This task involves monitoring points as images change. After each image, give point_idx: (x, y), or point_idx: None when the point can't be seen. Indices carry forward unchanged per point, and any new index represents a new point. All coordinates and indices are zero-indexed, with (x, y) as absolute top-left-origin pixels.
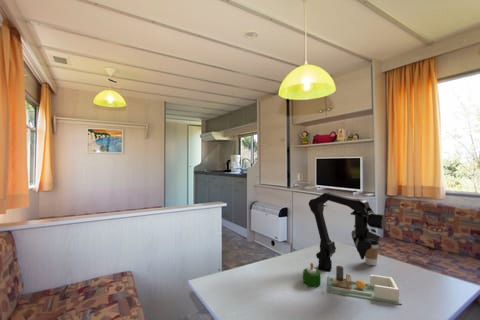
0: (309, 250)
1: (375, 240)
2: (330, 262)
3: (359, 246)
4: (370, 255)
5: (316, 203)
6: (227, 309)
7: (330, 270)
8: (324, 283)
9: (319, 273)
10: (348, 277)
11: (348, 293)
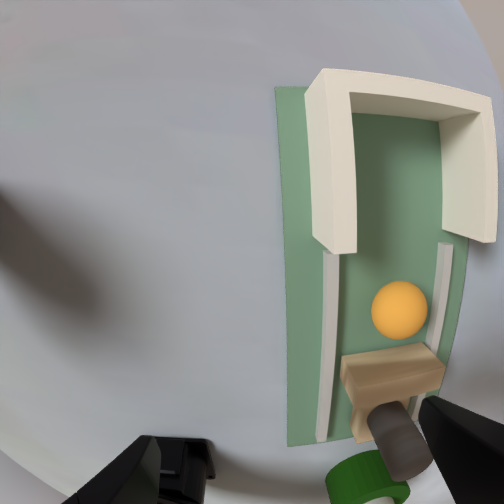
0: (32, 467)
1: None
2: (180, 472)
3: None
4: None
5: None
6: None
7: (204, 442)
8: (356, 443)
9: (384, 489)
10: (400, 391)
11: (441, 350)
